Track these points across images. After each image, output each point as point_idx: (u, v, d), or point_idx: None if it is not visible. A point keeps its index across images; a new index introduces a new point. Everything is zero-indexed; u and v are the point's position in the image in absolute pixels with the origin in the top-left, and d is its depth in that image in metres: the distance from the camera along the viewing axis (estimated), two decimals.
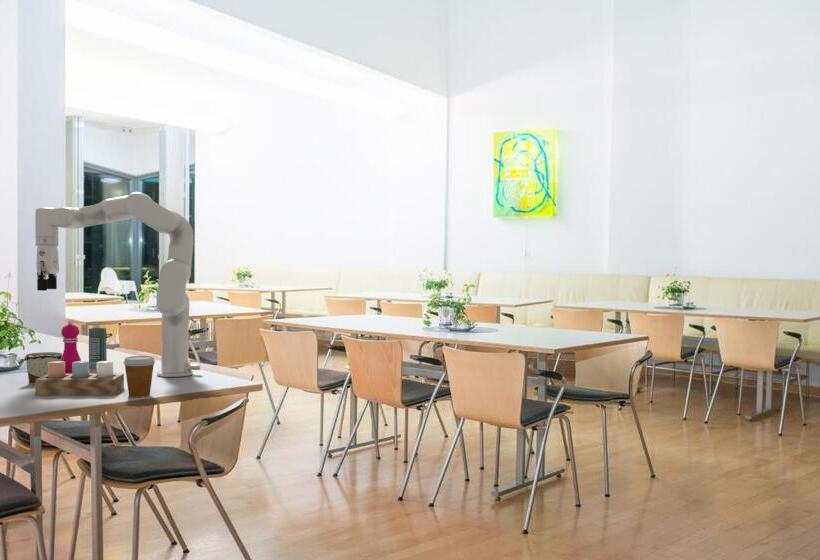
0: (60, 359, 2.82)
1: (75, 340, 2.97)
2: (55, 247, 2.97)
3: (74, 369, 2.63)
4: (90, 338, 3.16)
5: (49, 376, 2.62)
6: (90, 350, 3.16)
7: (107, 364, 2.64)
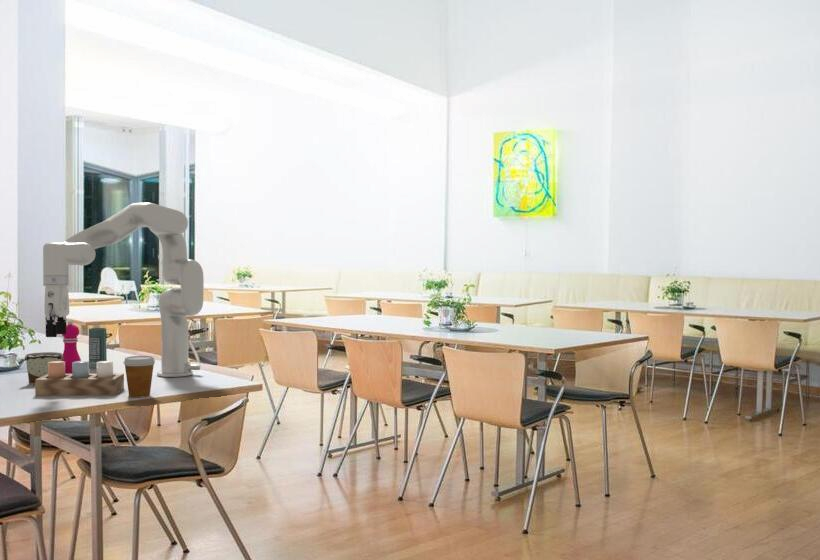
0: (60, 359, 2.82)
1: (75, 340, 2.97)
2: (65, 287, 2.65)
3: (74, 369, 2.63)
4: (90, 338, 3.16)
5: (49, 376, 2.62)
6: (90, 350, 3.16)
7: (107, 364, 2.64)
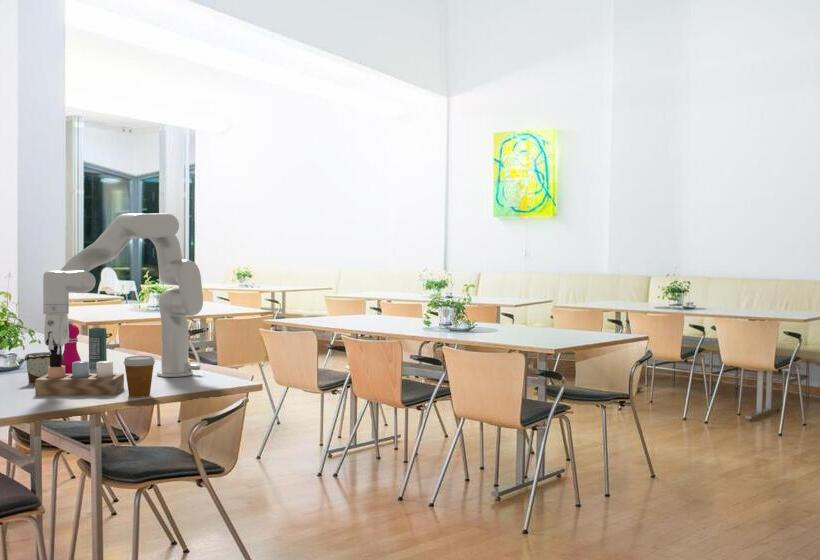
0: None
1: (75, 340, 2.97)
2: (65, 315, 2.65)
3: (74, 369, 2.63)
4: (90, 338, 3.16)
5: None
6: (90, 350, 3.16)
7: (107, 364, 2.64)
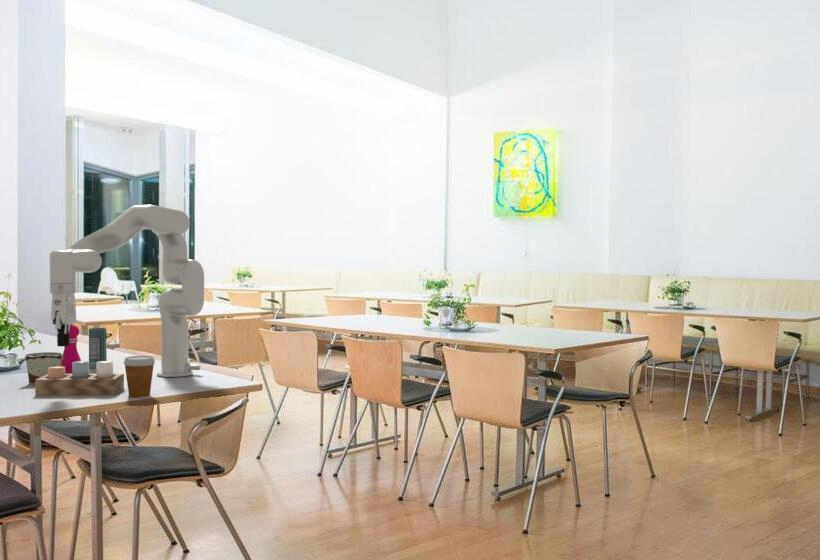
0: (60, 359, 2.82)
1: (75, 340, 2.97)
2: (72, 294, 2.65)
3: (74, 369, 2.63)
4: (90, 338, 3.16)
5: None
6: (90, 350, 3.16)
7: (107, 364, 2.64)
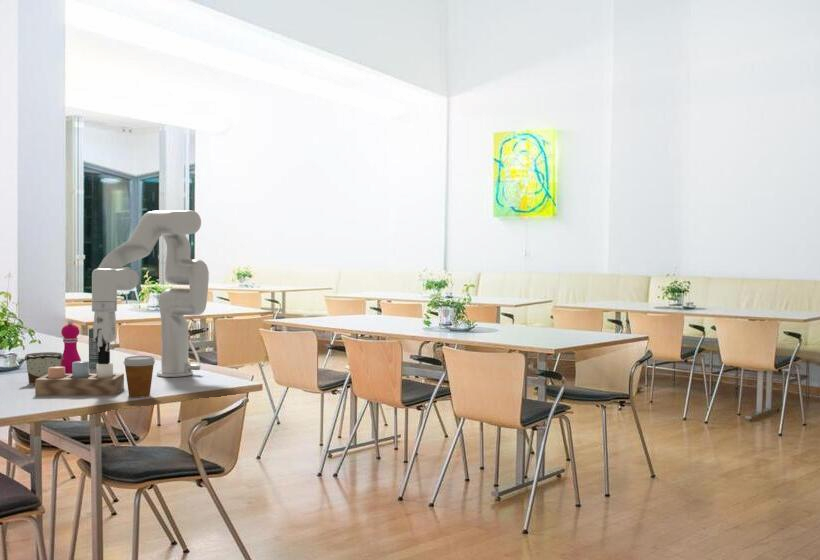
0: (60, 359, 2.82)
1: (75, 340, 2.97)
2: (113, 312, 2.66)
3: (74, 369, 2.63)
4: (90, 338, 3.16)
5: None
6: (90, 350, 3.16)
7: (107, 366, 2.64)
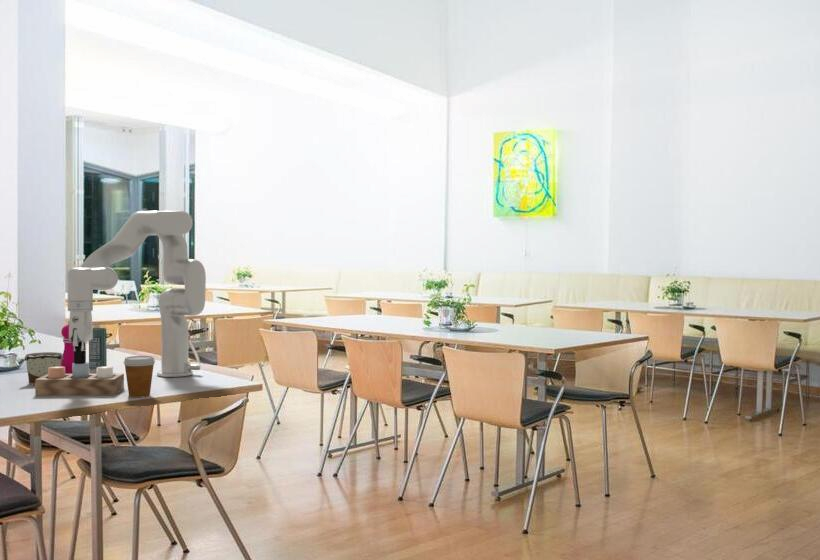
0: (60, 359, 2.82)
1: None
2: (89, 312, 2.65)
3: (74, 370, 2.63)
4: None
5: None
6: (90, 350, 3.16)
7: (107, 369, 2.64)
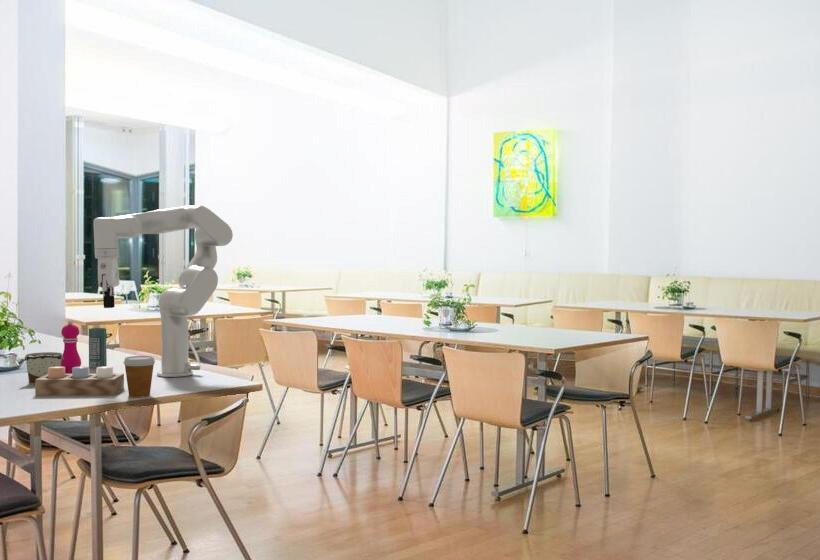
0: (60, 359, 2.82)
1: (75, 340, 2.97)
2: (115, 259, 2.81)
3: (74, 374, 2.63)
4: (90, 338, 3.16)
5: None
6: (90, 350, 3.16)
7: (107, 369, 2.64)
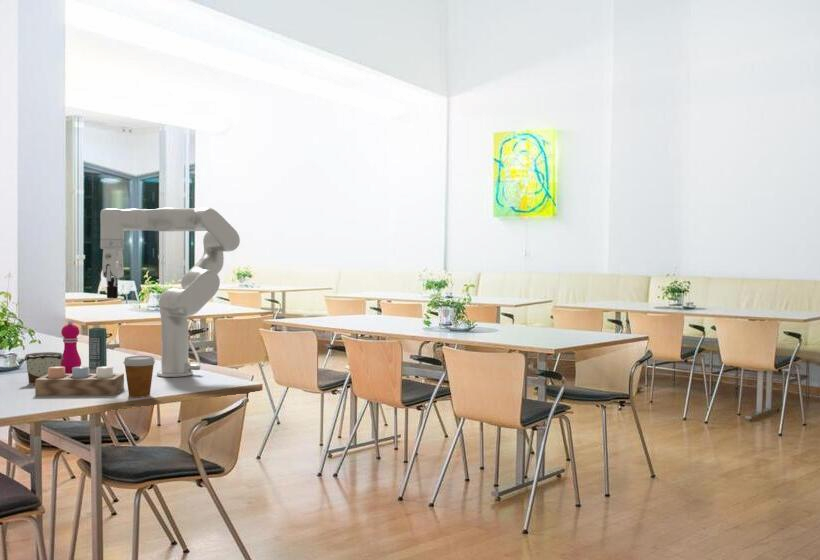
0: (60, 359, 2.82)
1: (75, 340, 2.97)
2: (120, 250, 2.84)
3: (74, 374, 2.63)
4: (90, 338, 3.16)
5: None
6: (90, 350, 3.16)
7: (107, 369, 2.64)
